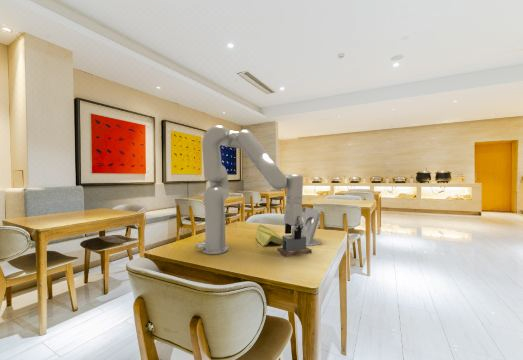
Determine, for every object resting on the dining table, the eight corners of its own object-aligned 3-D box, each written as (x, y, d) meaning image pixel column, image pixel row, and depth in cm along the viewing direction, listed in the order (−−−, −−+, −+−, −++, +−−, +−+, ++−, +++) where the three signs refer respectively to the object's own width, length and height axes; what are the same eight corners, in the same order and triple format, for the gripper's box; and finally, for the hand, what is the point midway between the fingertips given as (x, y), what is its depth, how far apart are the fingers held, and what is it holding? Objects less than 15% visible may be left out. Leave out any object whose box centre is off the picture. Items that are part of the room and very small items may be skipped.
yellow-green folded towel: (285, 240, 123) (269, 234, 119) (279, 253, 122) (263, 247, 119) (271, 229, 141) (257, 223, 138) (266, 240, 141) (252, 234, 138)
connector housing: (286, 251, 108) (287, 238, 107) (282, 248, 112) (282, 235, 112) (306, 249, 111) (306, 236, 111) (300, 246, 116) (300, 233, 115)
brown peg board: (284, 256, 106) (284, 244, 105) (277, 251, 113) (277, 239, 113) (311, 253, 110) (311, 241, 110) (303, 247, 118) (303, 237, 118)
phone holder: (289, 237, 136) (289, 207, 135) (304, 236, 140) (305, 206, 139) (305, 246, 120) (306, 211, 119) (322, 244, 124) (322, 210, 123)
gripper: (279, 198, 118) (278, 232, 118) (295, 203, 101) (293, 242, 102) (292, 198, 120) (291, 231, 121) (310, 202, 104) (309, 241, 105)
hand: (292, 236), depth 111 cm, fingers open, 9 cm apart
